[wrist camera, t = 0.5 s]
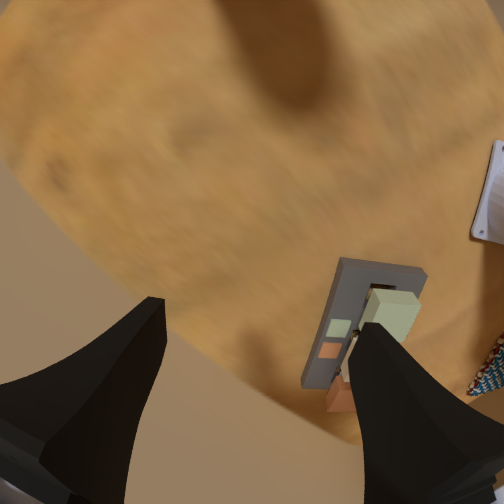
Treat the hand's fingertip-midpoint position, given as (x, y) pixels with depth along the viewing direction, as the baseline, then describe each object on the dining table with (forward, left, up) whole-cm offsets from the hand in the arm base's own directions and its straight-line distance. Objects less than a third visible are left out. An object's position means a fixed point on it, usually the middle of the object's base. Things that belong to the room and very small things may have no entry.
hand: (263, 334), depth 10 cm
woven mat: (-34, +13, -11) cm, 38 cm away
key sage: (-9, +4, -9) cm, 13 cm away
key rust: (-9, +12, -9) cm, 18 cm away
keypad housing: (-9, +8, -10) cm, 16 cm away
